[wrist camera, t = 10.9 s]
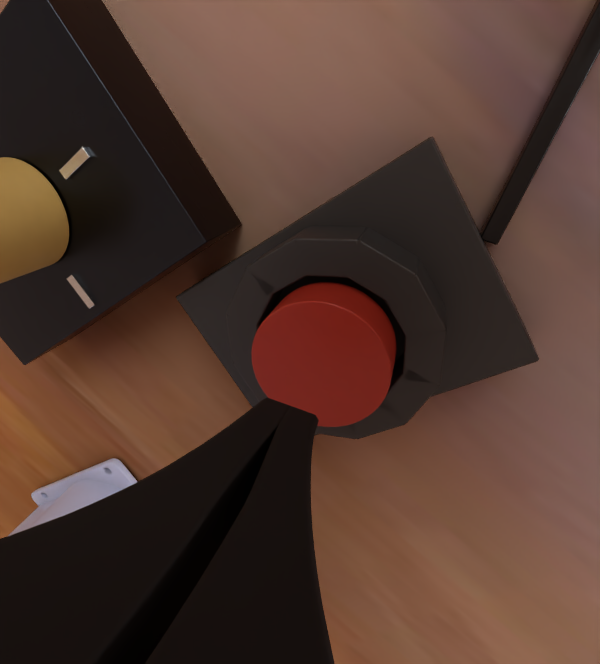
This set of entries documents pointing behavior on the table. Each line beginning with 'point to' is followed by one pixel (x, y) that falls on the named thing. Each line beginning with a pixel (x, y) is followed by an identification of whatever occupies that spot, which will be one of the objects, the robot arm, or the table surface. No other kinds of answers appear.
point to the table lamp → (545, 127)
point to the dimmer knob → (29, 220)
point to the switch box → (379, 286)
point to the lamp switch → (326, 353)
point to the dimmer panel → (96, 170)
